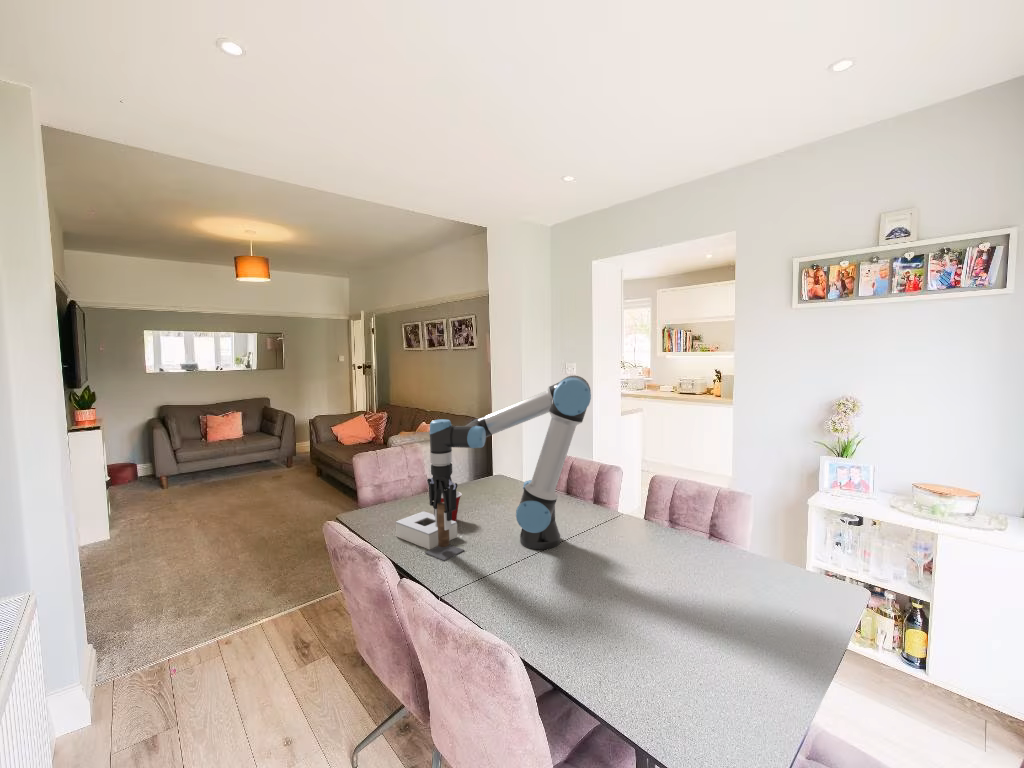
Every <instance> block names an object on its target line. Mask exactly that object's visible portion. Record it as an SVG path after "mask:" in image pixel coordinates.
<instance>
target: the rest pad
mask: <svg viewBox="0 0 1024 768" xmlns="http://www.w3.org/2000/svg"><path fill="white" fill-rule="evenodd" d="M465 551H466V550H465V549H463V548H461V547H458V546H455V545H453V544H450V545H449V546H447V547H440V546H437V547H434V548H432V549H430V550H429V549H428V550H427V551H425V552H424V554H425V555H428V556H430V557H432V558H435V559H438V560H440V561H443V562H445V561H448V560H450V559H451V558H453V557H455V556H457V555H459V554H461V553H463V552H465Z"/></svg>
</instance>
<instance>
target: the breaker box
mask: <svg viewBox="0 0 1024 768" xmlns="http://www.w3.org/2000/svg"><path fill="white" fill-rule="evenodd" d="M394 522H395V537H397V538H399V539H402V540H404V541H407V542H409V543H412V544H415V545H417V546H419V547H422V548H425V549H427V550H428V551H429V550H431V549H433V548H435V547H438V527H436V526H435V516H434V514H433V513H431V512H427V511H425V510H422V511H421V512H420V511H419V512H417V513H415V514H412V515H409V516H406V517H403V518H401V519H399V520H396V521H394ZM456 538H458V522H457V521H452V520H451V529H449V542H450V541H452V540H454V539H456Z"/></svg>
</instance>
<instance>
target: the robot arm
mask: <svg viewBox="0 0 1024 768" xmlns="http://www.w3.org/2000/svg"><path fill="white" fill-rule="evenodd" d="M591 390H592V389H591V386H590V384H589V382H588V381H587V380H586V379H585V378H584V377H581V376H579V375H569V376H566V377H565V378H564V377H563V379H561V380H560V381H558V382H557V383H554V384H552V385H549V386H548V388H547V389H546V390H545V391H543V392H540V393H538V394H535V395H533V396H530V397H528V398H526V399H524V400H521V401H519V402H516V403H512V404H510V405H509V406H506V407H504V408H501V409H499V410H497V411H493V412H491V413H489V414H486V415H484V416H482V417H479V418H475V419H473V420H471V422H469V423H467V424H466V425H453V424H452V421H451V420H450V419H445V418H444V419H443V418H442V419H435V420H434V419H433V420H431V422H430V423H429V435H428V436H429V444H430V445H429V446H430V447H429V448H430V449H429V450H430V452H429V453H430V456H429V457H430V474H431V476H432V477H429V478H427V479H426V480H427V485H428V494H429V495H428V499H429V506H431V507H432V508H433V511H434V516H435V526H436V527H438V519H437V504H438V503H440V502H441V496H442V494H443V499H444V505H445V511H444V530H448V529H451V520H452V511H454V510H456V491H457V488H458V483H457V482H455V483H454V482H453V480H452V477H451V476H452V475H453V464H452V462H453V453H452V452H453V449H452V448H463V449H465V448H467V449H480V448H481V449H482V448H483V447H484V446H485V444H486V441H487V438H488V437H490V436H492V435H495V434H497V433H499V432H503V431H505V430H508V429H510V428H513V427H515V426H518V425H520V424H523V423H526V422H528V421H531V420H533V419H535V418H538V417H540V416H543V415H546V414H547V413H548V414H550V416H551V419H550V422H549V425H548V429H547V431H546V434H545V438H544V441H543V442H542V443H543V444H542V446H541V447H542V448H541V450H540V453H539V457H538V459H537V463H536V466H535V470H534V472H533V475H532V478H531V479H530V480H525V481H524V482H523V487H522V489H523V492H522V495H521V498H520V501H519V504H518V506H517V507H516V511H515V517H516V518H515V519H516V521H517V524H518V525H519V526H520V528H521V532H520V534H519V542H520V545H522V546H523V547H525V548H528V549H533V550H549V549H552V548H555V547H557V546H559V545H560V544H561V534H560V531H559V529H558V525H557V521H556V504H557V500H558V494H557V493H556V489H557V486H558V483H559V479H560V476H561V474H562V470H563V468H564V464H565V461H566V458H567V456H568V452H569V448H570V446H571V443H572V440H573V436H574V433H575V431H576V427H577V426H578V425H580V424H582V423H583V422H584V418H585V415H586V412H587V409H588V407H589V406H590V403H591V399H592V392H591Z"/></svg>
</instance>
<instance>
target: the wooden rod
mask: <svg viewBox="0 0 1024 768" xmlns="http://www.w3.org/2000/svg"><path fill="white" fill-rule="evenodd" d="M444 511H445V505H444V502H440V503H438V504H437V519H438V546H440V547H447V546H449V545H451V544H450V541H449V529H448V530H444ZM438 546H437V547H438Z"/></svg>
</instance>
